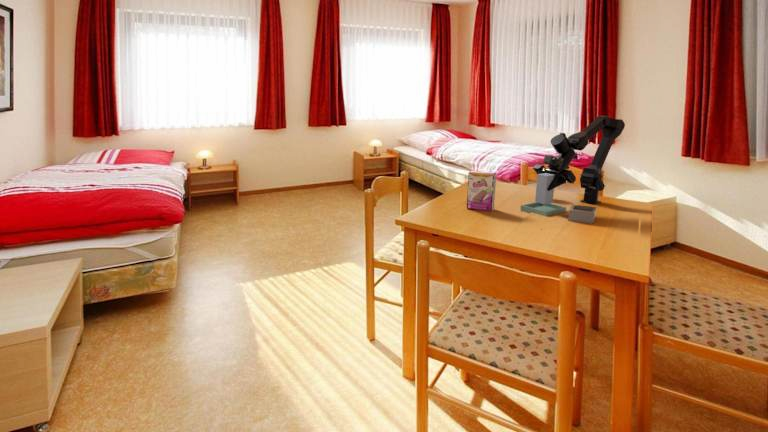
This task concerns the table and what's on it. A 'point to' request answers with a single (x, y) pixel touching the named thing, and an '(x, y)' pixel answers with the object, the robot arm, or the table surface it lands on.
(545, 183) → the block
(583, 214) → the holder
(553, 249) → the table surface
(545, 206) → the tray
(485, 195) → the candy bar box
